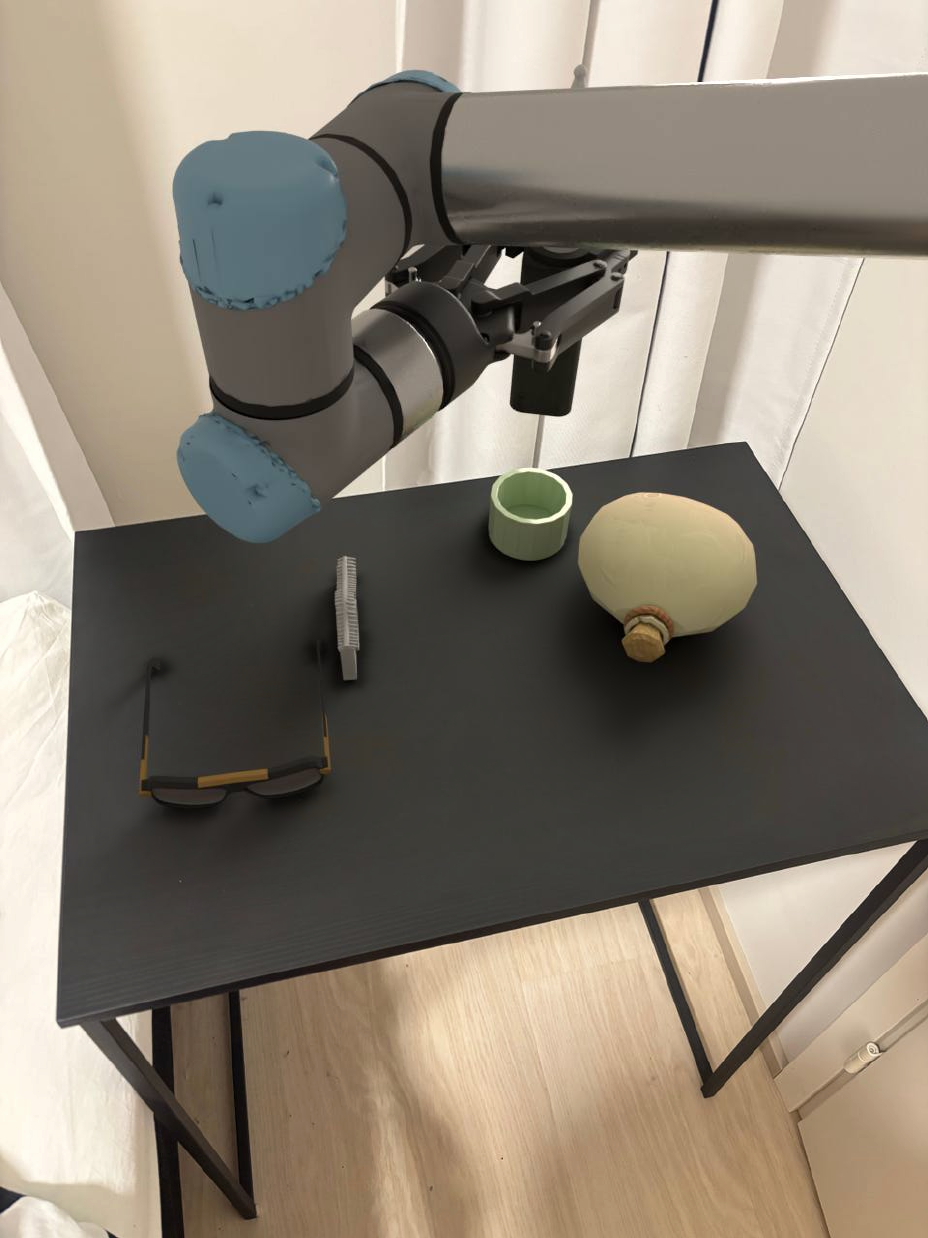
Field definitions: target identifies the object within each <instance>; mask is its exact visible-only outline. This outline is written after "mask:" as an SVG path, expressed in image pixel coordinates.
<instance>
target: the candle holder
mask: <svg viewBox="0 0 928 1238" xmlns="http://www.w3.org/2000/svg"><path fill="white" fill-rule="evenodd" d="M489 502H490V503H489V512H488V513H489V515H488V528H487V529H488V536H489V540H490V541H491V543H492V544H493V546H494V547H495V548H496V549H497V550H498V551H499V552H501V553H502V554H503V555H505V556H507V557H509V558H512V559H516V560H520V561H528V562H530V561H533V562H534V561H540V560H544V559H548V558H549V557H552V556H553V555H555V554H557V553H558V552H559V551H560V550H561V549H562V547H563V546H564V545H565V542H566V539H567V536H568V529H569V523H570V518H571V511H572V507H573V492H572V491H571V488H570V486H569V485H568V483H567V482H566V481H565V480H564V479H562V478H561V477H560V476H559V475H558V474H555V473H553V472H551V471H549V470H546V469H542V468H534V467H521V468H516V469H512V470H509V471H507V472H506V473H503V474H501V475H500V476H499V477H498V478H497V479H496V480H495V482H494V483H493V484H492V486H491V492H490V501H489Z"/></svg>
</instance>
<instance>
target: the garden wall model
mask: <svg viewBox="0 0 928 1238" xmlns="http://www.w3.org/2000/svg"><path fill="white" fill-rule="evenodd" d="M336 560H337V563H336V564H337V565H336V590H335V591H334V606H335V617H336V618H335V619H336V634H337V635H336V636H337V649H338V652H339V653H340V661H341V670H342V677H343V681H353V680H354V681H355V680H357V679H358V671H357V670H358V669H357V667H358V666H357V652H359V651H360V633H359V632H360V631H359V630H360V629H359V614H358V602H357V568H356V567H357V565H356V564H357V561H356V560H357V559H356V557H349V556H346V555H343V556H342V557H341V558H337V559H336Z"/></svg>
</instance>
